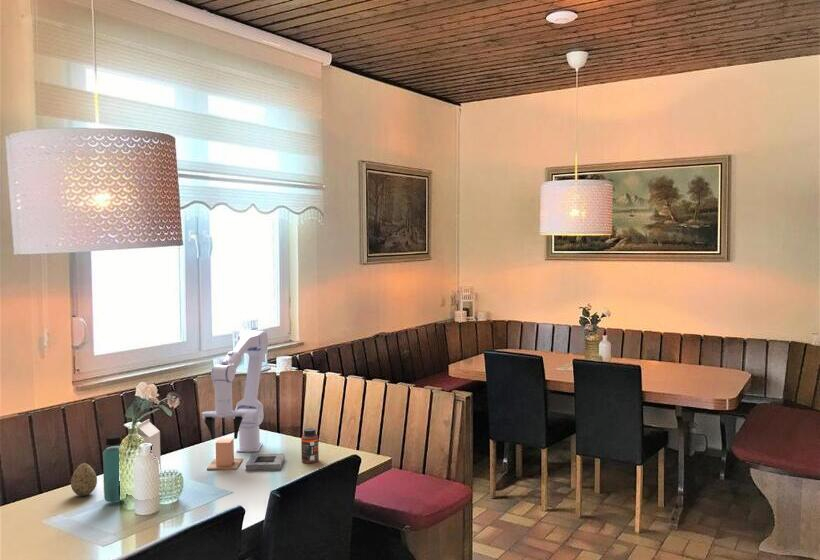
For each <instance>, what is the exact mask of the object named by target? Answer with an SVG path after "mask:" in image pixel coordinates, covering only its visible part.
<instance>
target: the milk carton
mask: <svg viewBox="0 0 820 560" xmlns="http://www.w3.org/2000/svg"><path fill="white" fill-rule="evenodd" d="M139 424H140V423H139ZM138 434H139V435H140V436H142V437H143V438H144V440H145V442H147V443H151V444H152V445H153V446H152V450H151V452H152V454H154V455H155V456H156V457H157V458H158V460H159V464H160V470H161V471H162V467H161V465H162V461H161V459H162V458H161V431H160V430H159V429H158V428H157V427H156V426H155V425H154V424H153V423H152V422H151V421H150V418H148V419H146V420H144V421H142V422H141V424H140V425H139V426H138Z"/></svg>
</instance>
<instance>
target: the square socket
mask: <svg viewBox="0 0 820 560" xmlns="http://www.w3.org/2000/svg"><path fill="white" fill-rule="evenodd" d="M285 455H286V454H285V453H264V454H263V453H259V454H257V453H255V454H251V455H250V456H249V458H248V460H247V462H246V464H245V472H257V471H258V472H259V471H262V472H263V471H281V469H282V467H283V464H284V462H285V460H284V459H285Z"/></svg>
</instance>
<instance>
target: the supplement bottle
mask: <svg viewBox="0 0 820 560" xmlns="http://www.w3.org/2000/svg"><path fill="white" fill-rule="evenodd" d="M316 432H317V431H316V428H313V427H307V428H304V429H303V435H302V436H301V439H300V440H301V446H300V448H301V461H302V463H305V464H314V463H317V462H319V459H320V458H319V457H320V456H319V453H320V451H319V435H318V434H317V433H316ZM316 461H317V462H316Z"/></svg>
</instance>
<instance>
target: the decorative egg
mask: <svg viewBox="0 0 820 560" xmlns="http://www.w3.org/2000/svg"><path fill="white" fill-rule="evenodd" d="M97 478H98V477H97V473H96V471H95V469H93V468H92V467H91V465H90V464H88V463H85V462H82V463H80V464H79V465H78V466H77V467H76V469H75V470H74V471H73V474H72V475H71V480H70V487H71V490H72V491H73V493H74V494H75V495H77V496H80V497H85V496H88V495H90V494H92V493H93V492H94V491H95V489H96V487H97V484H98V479H97Z"/></svg>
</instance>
